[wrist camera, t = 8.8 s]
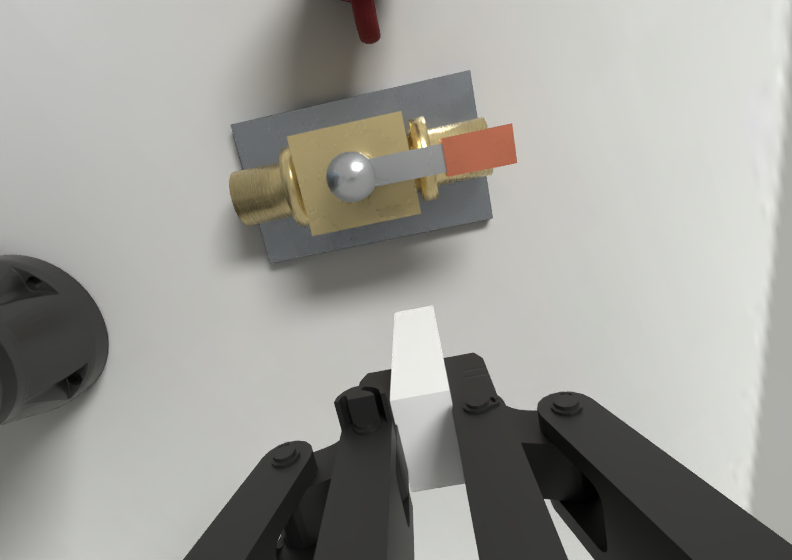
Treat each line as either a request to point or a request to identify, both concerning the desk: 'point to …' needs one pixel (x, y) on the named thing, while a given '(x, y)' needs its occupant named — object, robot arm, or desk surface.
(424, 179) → the valve block
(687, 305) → the desk surface
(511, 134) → the lever
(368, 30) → the mug
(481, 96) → the desk surface
